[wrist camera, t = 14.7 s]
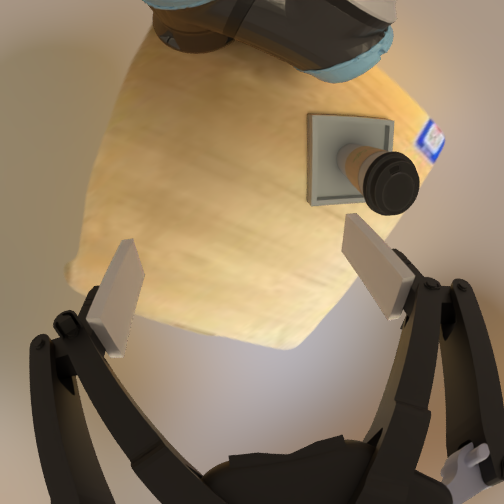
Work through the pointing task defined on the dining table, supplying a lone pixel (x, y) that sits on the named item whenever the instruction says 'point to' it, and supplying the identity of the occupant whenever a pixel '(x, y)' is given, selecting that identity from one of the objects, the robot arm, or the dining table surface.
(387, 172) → the coffee cup
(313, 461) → the robot arm
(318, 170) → the tray
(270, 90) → the dining table surface
